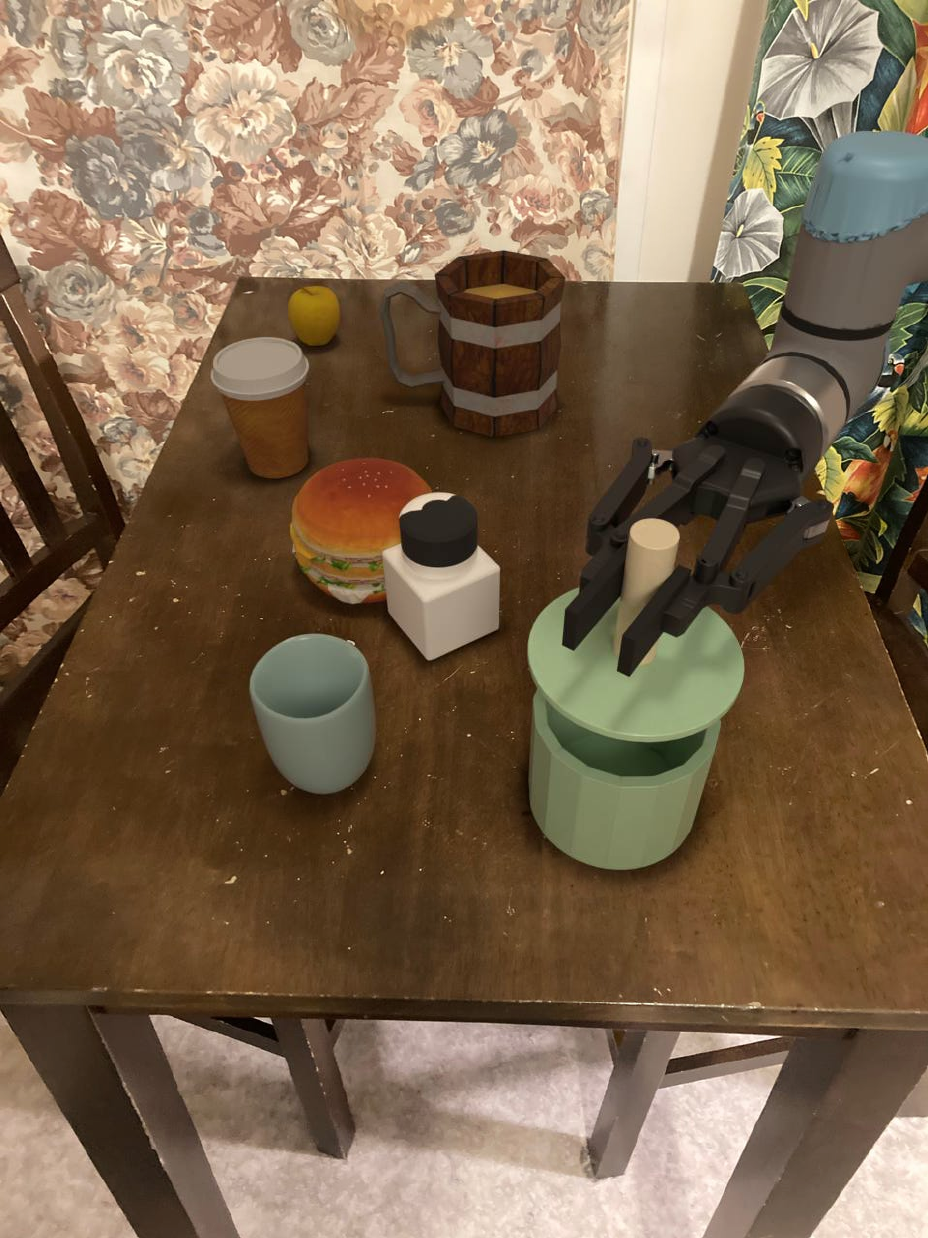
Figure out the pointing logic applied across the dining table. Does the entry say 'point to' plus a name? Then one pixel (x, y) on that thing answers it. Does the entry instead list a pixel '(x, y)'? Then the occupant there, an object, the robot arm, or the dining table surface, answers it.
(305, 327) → the apple
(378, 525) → the burger
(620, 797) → the tin
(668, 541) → the tin lid
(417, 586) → the medicine bottle
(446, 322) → the mug
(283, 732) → the cup
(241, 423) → the disposable coffee cup
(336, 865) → the dining table surface
